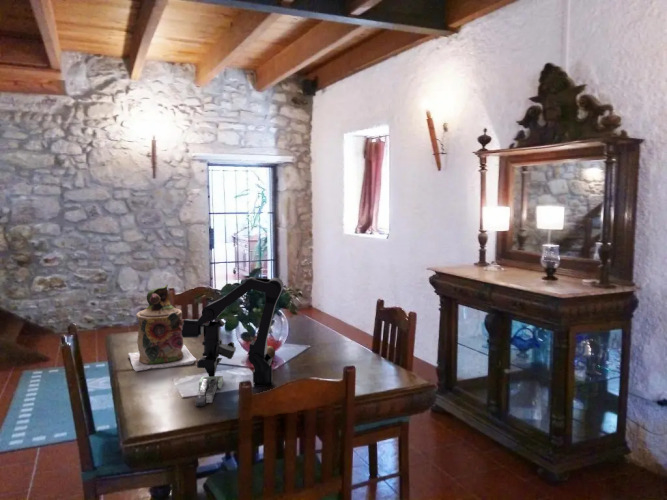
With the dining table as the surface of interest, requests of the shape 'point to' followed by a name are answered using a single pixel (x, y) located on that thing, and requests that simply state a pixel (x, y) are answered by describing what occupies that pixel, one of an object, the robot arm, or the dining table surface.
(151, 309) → the cookie jar
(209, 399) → the tongs fixed arm
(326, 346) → the dining table surface
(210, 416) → the dining table surface
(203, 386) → the tong arm
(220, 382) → the lock clip
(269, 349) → the mushroom
